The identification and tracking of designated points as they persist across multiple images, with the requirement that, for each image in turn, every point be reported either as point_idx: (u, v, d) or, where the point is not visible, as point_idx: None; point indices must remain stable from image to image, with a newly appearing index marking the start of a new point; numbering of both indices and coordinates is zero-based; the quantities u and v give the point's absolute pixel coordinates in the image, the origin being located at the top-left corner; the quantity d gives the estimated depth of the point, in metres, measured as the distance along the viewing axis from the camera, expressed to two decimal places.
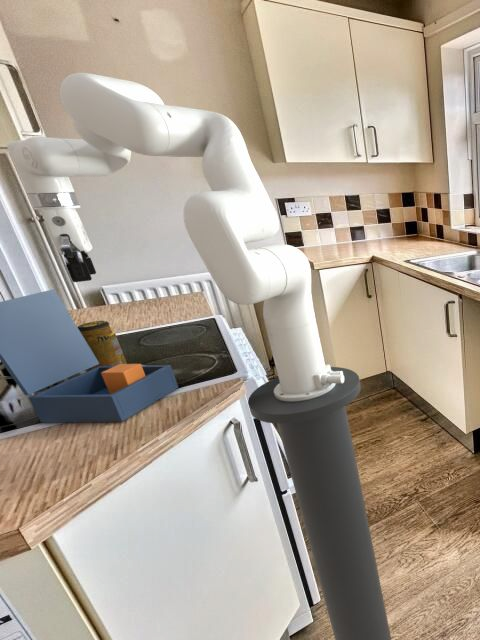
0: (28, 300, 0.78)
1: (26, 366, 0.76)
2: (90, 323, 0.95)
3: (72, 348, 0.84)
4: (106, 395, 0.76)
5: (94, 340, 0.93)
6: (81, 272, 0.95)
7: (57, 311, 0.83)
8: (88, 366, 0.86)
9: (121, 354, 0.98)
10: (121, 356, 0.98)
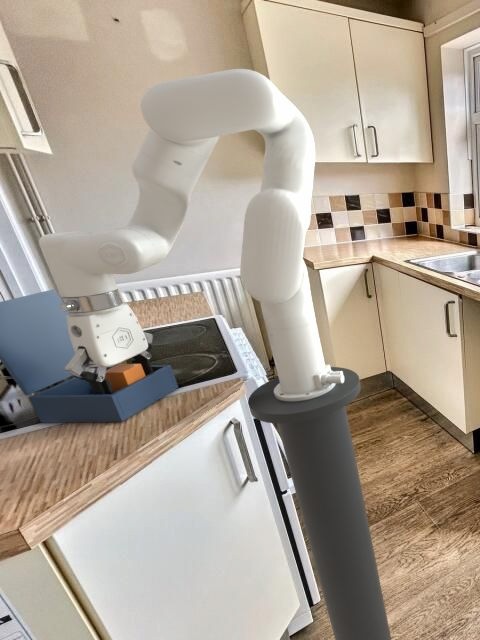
0: (28, 300, 0.78)
1: (26, 366, 0.76)
2: None
3: (72, 348, 0.84)
4: (106, 395, 0.76)
5: None
6: (99, 391, 0.77)
7: (57, 311, 0.83)
8: None
9: None
10: None
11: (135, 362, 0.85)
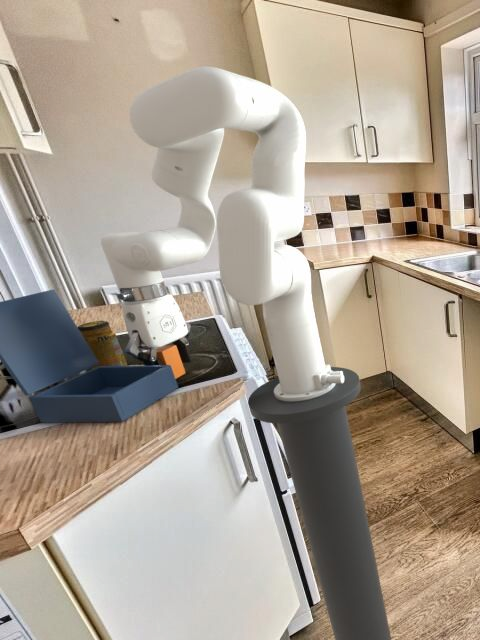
0: (28, 300, 0.78)
1: (26, 366, 0.76)
2: (90, 323, 0.95)
3: (72, 348, 0.84)
4: (106, 395, 0.76)
5: (94, 340, 0.93)
6: None
7: (57, 311, 0.83)
8: (88, 366, 0.86)
9: (121, 354, 0.98)
10: (121, 356, 0.98)
11: None
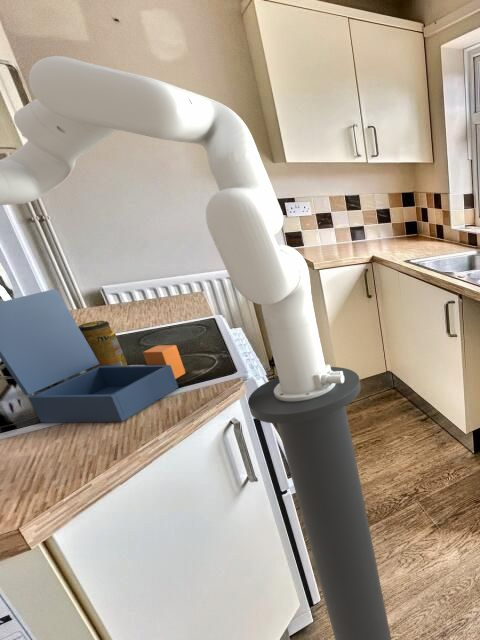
0: (30, 300, 0.78)
1: (26, 365, 0.76)
2: (90, 323, 0.95)
3: (73, 348, 0.84)
4: (106, 395, 0.76)
5: (94, 340, 0.93)
6: None
7: (59, 311, 0.82)
8: (88, 366, 0.86)
9: (121, 354, 0.98)
10: (121, 356, 0.98)
11: None
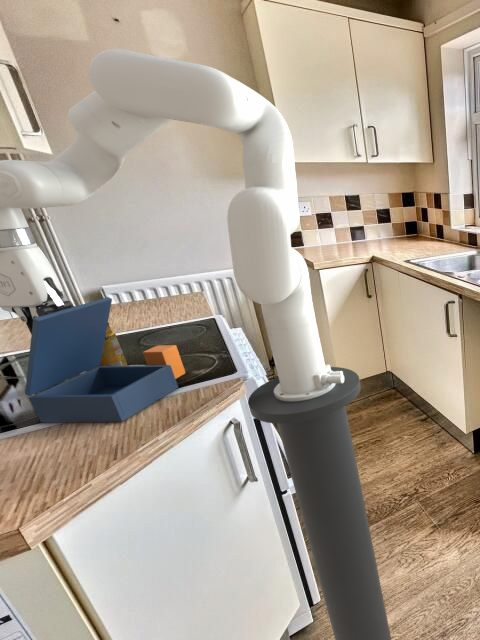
0: (86, 310, 0.79)
1: (45, 369, 0.76)
2: None
3: (89, 352, 0.84)
4: (106, 395, 0.76)
5: None
6: None
7: (101, 319, 0.83)
8: (90, 368, 0.86)
9: (121, 354, 0.98)
10: (121, 356, 0.98)
11: None
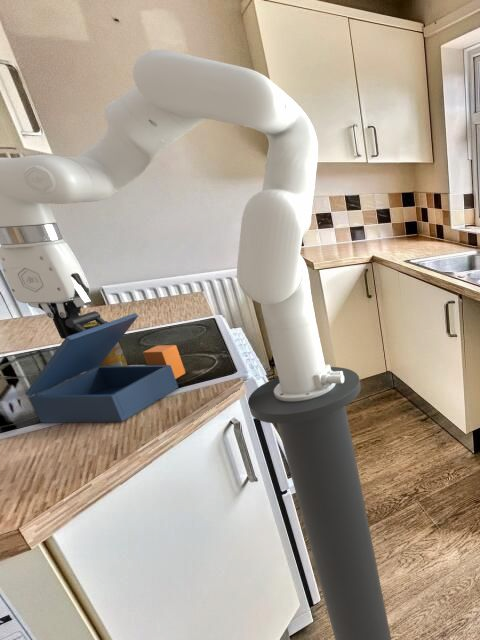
0: (113, 326, 0.80)
1: (53, 375, 0.77)
2: (90, 323, 0.95)
3: (97, 357, 0.84)
4: (106, 395, 0.76)
5: None
6: None
7: (121, 331, 0.84)
8: (90, 368, 0.86)
9: (121, 354, 0.98)
10: (121, 356, 0.98)
11: None
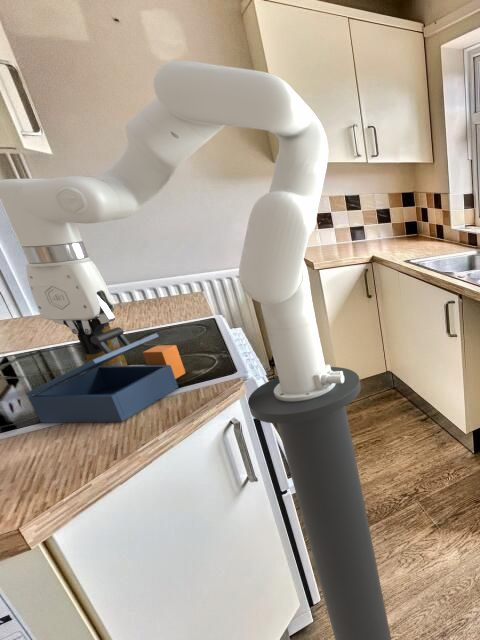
0: (134, 347, 0.81)
1: (60, 382, 0.77)
2: None
3: (103, 363, 0.85)
4: (106, 395, 0.76)
5: None
6: None
7: None
8: (90, 369, 0.86)
9: None
10: (121, 356, 0.98)
11: None
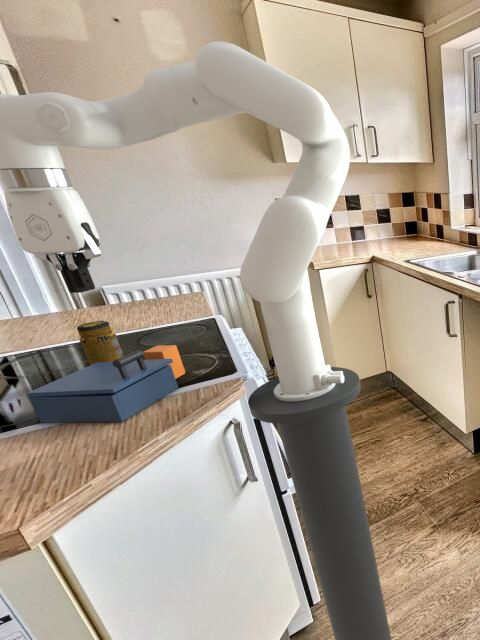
0: None
1: None
2: (90, 323, 0.95)
3: None
4: (106, 395, 0.76)
5: (94, 340, 0.93)
6: None
7: None
8: None
9: (121, 354, 0.98)
10: (121, 356, 0.98)
11: None
